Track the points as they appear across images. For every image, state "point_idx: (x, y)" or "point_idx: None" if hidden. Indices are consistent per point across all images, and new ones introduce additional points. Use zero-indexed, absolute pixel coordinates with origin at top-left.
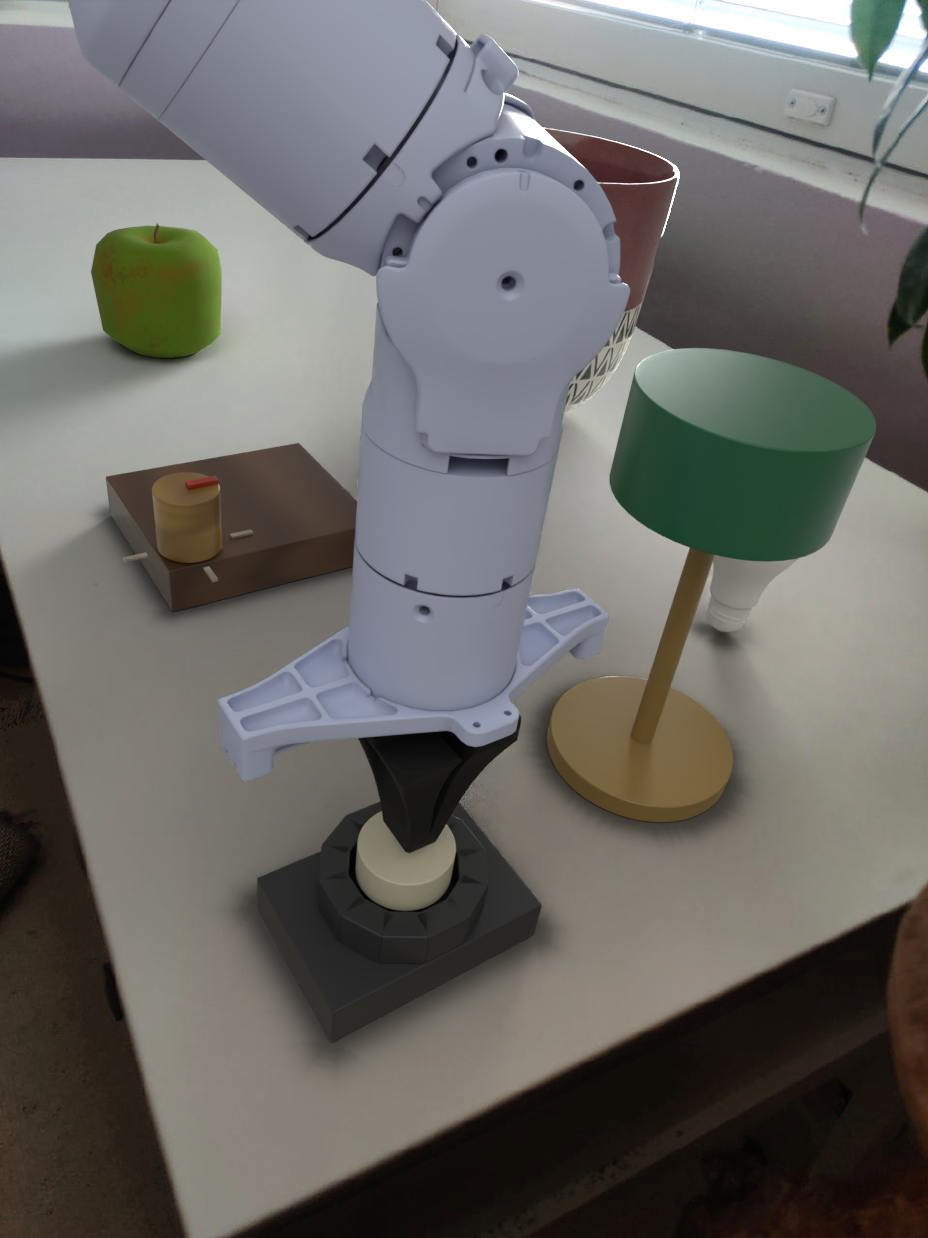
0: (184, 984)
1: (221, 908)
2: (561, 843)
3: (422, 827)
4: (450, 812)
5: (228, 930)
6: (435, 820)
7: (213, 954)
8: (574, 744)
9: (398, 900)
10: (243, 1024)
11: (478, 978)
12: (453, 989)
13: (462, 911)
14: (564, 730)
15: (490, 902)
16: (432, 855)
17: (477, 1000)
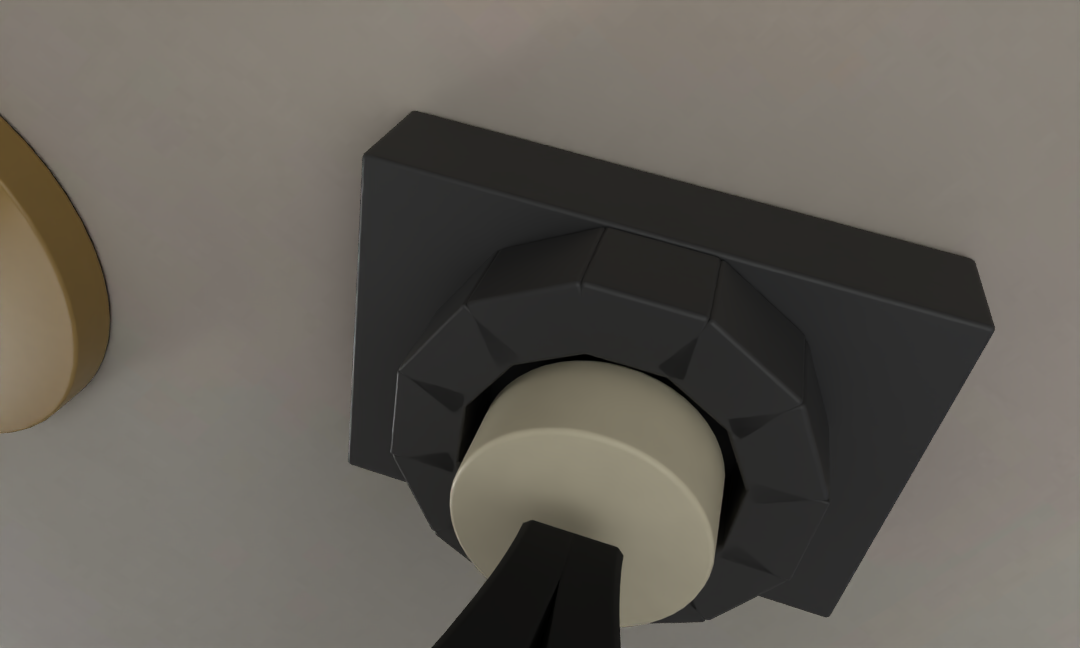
0: (1062, 534)
1: (875, 577)
2: (208, 213)
3: (581, 643)
4: (474, 625)
5: (904, 544)
6: (532, 634)
7: (968, 534)
8: (34, 351)
9: (695, 441)
10: (1061, 410)
11: (597, 128)
12: (663, 151)
13: (579, 306)
14: (35, 384)
15: (466, 249)
16: (548, 478)
17: (641, 92)
